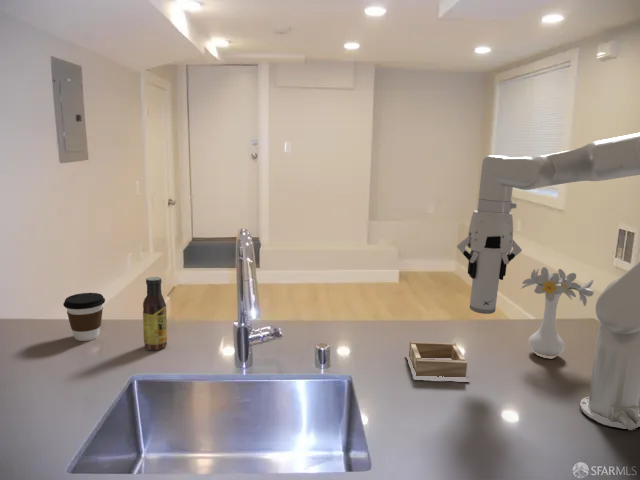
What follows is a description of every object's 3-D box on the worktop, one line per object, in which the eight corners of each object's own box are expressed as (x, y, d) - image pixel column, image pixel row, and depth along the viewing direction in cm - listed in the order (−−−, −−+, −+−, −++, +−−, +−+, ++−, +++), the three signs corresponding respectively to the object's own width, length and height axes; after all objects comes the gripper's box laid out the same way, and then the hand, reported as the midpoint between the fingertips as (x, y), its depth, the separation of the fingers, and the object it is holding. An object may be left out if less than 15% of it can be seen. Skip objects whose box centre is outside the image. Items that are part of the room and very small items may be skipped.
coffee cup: (57, 341, 144) (53, 301, 142) (85, 328, 154) (82, 290, 152) (89, 346, 141) (86, 305, 138) (115, 332, 151) (113, 294, 149)
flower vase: (590, 365, 138) (603, 277, 133) (523, 363, 138) (534, 275, 133) (567, 345, 151) (578, 264, 146) (506, 344, 151) (514, 263, 146)
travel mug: (491, 316, 124) (500, 236, 120) (465, 309, 128) (473, 232, 124) (500, 310, 129) (509, 233, 125) (474, 304, 133) (483, 229, 129)
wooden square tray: (469, 382, 126) (471, 364, 125) (413, 380, 126) (414, 362, 125) (456, 358, 140) (457, 341, 139) (405, 356, 140) (406, 340, 139)
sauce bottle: (163, 351, 139) (160, 282, 135) (140, 351, 139) (137, 281, 135) (170, 342, 145) (168, 275, 141) (149, 341, 146) (146, 275, 142)
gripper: (524, 206, 126) (515, 275, 130) (454, 203, 127) (448, 272, 130) (535, 210, 119) (526, 283, 123) (461, 207, 119) (454, 280, 123)
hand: (485, 277), depth 127 cm, fingers closed on travel mug, 6 cm apart
